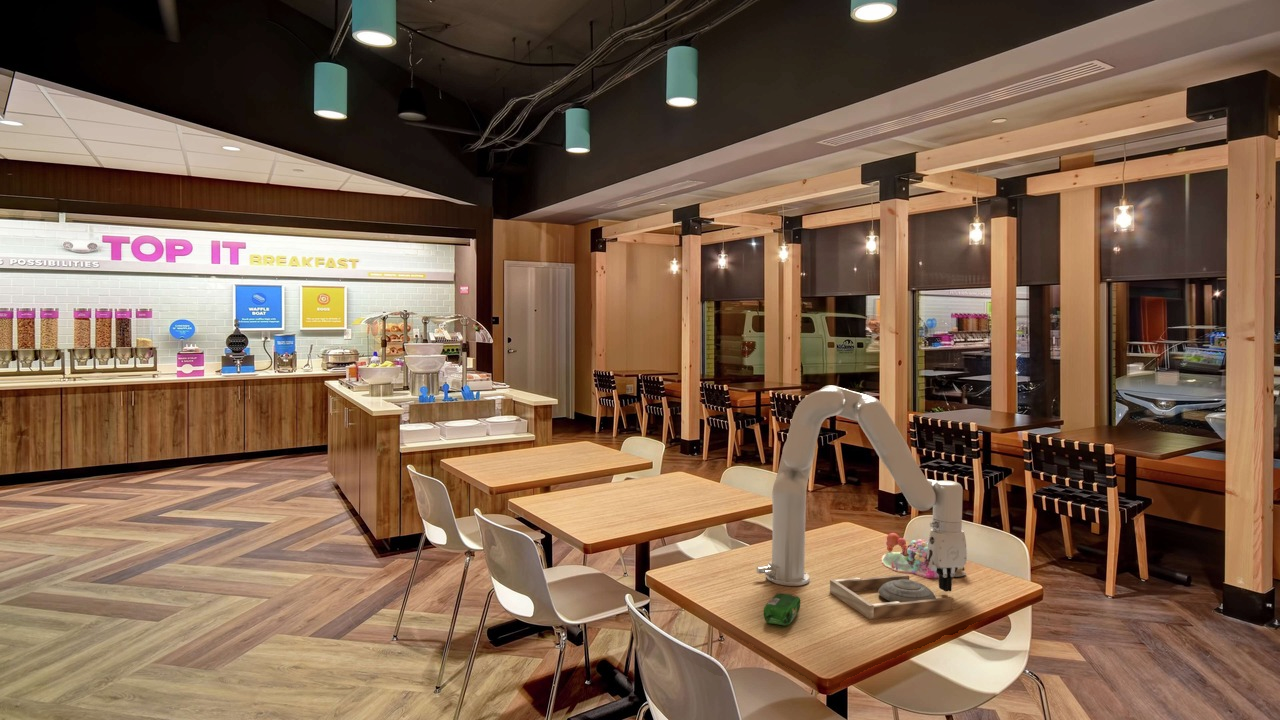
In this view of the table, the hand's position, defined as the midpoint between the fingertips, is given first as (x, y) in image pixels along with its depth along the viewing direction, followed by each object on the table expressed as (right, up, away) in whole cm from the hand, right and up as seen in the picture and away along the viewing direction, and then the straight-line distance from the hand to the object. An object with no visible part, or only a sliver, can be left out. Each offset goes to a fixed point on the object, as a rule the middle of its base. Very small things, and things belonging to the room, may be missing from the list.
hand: (945, 589), depth 197 cm
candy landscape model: (+4, -1, +24) cm, 24 cm away
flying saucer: (-12, -2, -3) cm, 13 cm away
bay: (-17, -2, -5) cm, 18 cm away
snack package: (-50, -2, -18) cm, 53 cm away
